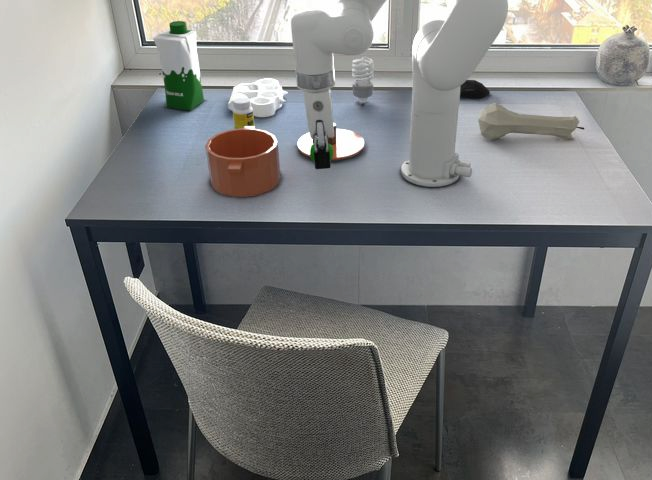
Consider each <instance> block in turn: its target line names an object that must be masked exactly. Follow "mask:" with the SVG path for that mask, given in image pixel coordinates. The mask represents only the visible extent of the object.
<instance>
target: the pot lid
mask: <svg viewBox="0 0 652 480" xmlns="http://www.w3.org/2000/svg"><path fill="white" fill-rule="evenodd" d="M333 125H334V137H333V138H331V137H330V138H329V137H328V136H327V137H328V143H329V144H331V146H332V148H333V157H332V160H331V161H340V160H344V159H350V158H353V157H354V156H356V155H359V154H360V153H361V152H362V151H363V150H364V148H365V140H364V138H363V136H361V135H360V134H358V133H356V132H354V131H352V130H349V129H344V128H337V124H336V123H335V122H333ZM312 144H313V139H312V138H311V137H310V132H309V131H308V132H306V133H305V134H303V135H302V136H300V137H299V138H298V140H297V143H296V147H297V150H298V151H299V152H300V153H301V154H302V155H304V156H306V157H308V158H311V157H310V148H311V146H312Z"/></svg>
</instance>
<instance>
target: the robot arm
mask: <svg viewBox="0 0 652 480" xmlns="http://www.w3.org/2000/svg"><path fill="white" fill-rule="evenodd" d="M386 1H387V0H339V1H338V2H337V4H336V5H335V7H334V9H333V12H332V15H331V16H330V15H329V13H328V12H327V11H325V10H322V9H314V8H313V9H311V8H309V9H304V10H300V11H297V12H295V13H294V14H293V15H292V17H291V20H290V29H291V39H292V40H291V41H292V50H293V59H294V69H295V70H294V71H295V80H296V81H295V82H296V88H297V89H298V90H300V91H301V92H303V100H304V109H305V115H306V121H307V122H306V123H307V127H308V133H309V132H310V137H311V138H312V139H313V143H314V146H315V151H314V160H315V162H314V169H315V170H326V169H331V168H332V167H331V161H330V151H329V150H328V137H329V138H330V137H331V138H333V137H334V125H333V123H334V113H333V101H332V100H333V99H332V91H331V90H332V89H333V88H334V87H335V86H336V75H335V61H334V59H335V58H334V54H336V55H343V56H358V55H362V54H364V53H365V52H367V51H368V50H369V49H370V48H371V46H372V44H373V43H374V37H375V36H374V34H375V33H374V27H373V24H372V21H373V20H374V19H375V17H376V16H377V14H378V13H379V11H380V10H381V8H382V7H383V6H384V4H385V3H386ZM446 5H447V9H448V11H449V14H448V15H447V17H446V19H445V20H442V19H435V20H431V21H429V22H427V23H425V24H423V25H422V26H421V27H420V29H418V31H417V33H416V34H415V36H414V39H413V43H412V51H411V63H412V64H411V65H412V68H411V69H412V85H411V86H412V87H411V89H412V91H411V109H410V127H409V129H410V131H409V150H408V151H409V154H408V159H407V160H405V161H404V162H403V163H402V165H401V168H400V173H401V175H402V177H403V178H404V180H406V181H408V182H409V183H412V184H414V185H415V186H416V185H417V186H421V187H427V188H429V187H430V188H439V187H445V186H449V185H451V184H453V183H455V182H456V181H458V180H459V178H460V177H464V178H471V177H472V174H473V168H472V167H471V163H470V162H463V161H461V160H460V159H459V155H460V154H459V153H458V152H456V142H457V141H456V140H457V131H458V121H459V120H458V118H459V110H460V109H459V108H460V100H461V98H460V86H461V85H462V84H463V83H464V82H465V81H466V80H469V78H470V77H471V76H472V74H473V73H474V72H475V70H476V69H477V67H478V66H479V64H480V63H481V61H482V60H483V59H484V57H485V56H486V54H487V52H488V51H489V50H490V48H491V47H492V45H493V44H494V42H495V41H496V39H497V38H498V36H499V35H500V33H501V31H502V30H503V27H504V25H505V23H506V21H507V18H508V13H509V1H508V0H446ZM327 136H328V137H327ZM317 141H318V143H317ZM324 141H325V143H324Z"/></svg>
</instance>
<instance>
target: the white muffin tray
mask: <svg viewBox="0 0 652 480" xmlns="http://www.w3.org/2000/svg"><path fill="white" fill-rule="evenodd" d="M288 93H289V92H288V91H286V90H284V89H283V87H282V86H281V85H280V84H279V81H278V80H277V79H275V78H270V77H269V78H261V79H258V80H256V81H255V82H250V83H248V82H247V83H245V82H244V83H238V84H237V85H235V86H233V87H232V92H231V94H230V98H229V100H228V102H227V109H228V110H230V111H232V112H233V108H234V104H233V100H234V99H236V98H239V97H247V98H249V99H250V100H251V107H252V108H253V116H254V117H255V118H269V117H273V116H274V115H276V111H278V110H280V109H281V108H282V106H283V104H284V103H287V100H285V99H284V97H285V95H287V94H288Z"/></svg>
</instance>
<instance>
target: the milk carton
mask: <svg viewBox="0 0 652 480" xmlns="http://www.w3.org/2000/svg"><path fill="white" fill-rule="evenodd" d="M152 39H153V42H154V44H155V47H156V50H157V52H158V57H159V61H160V62H159V63H160V67H161V74H162V79H163V85H164V93H165V102H166V103H165V104H166V108H167V109H174V110H181V111H189V112H191V111H192V110H194V109H195V108H196V107H198V106H199V105H200V104H202V103H203V102H205V97H204V96H205V95H204V91H203V84H202V79H201V77H202V76H201V71H200V63H199V55H198V47H197V31H195V30H189V29H188V27H187V22H186V21H183V20H175V21H171V22H169V28H168V29H166V30H164V31H162V32H160V33H158V34H157V35H156V36H154V37H153V38H152Z"/></svg>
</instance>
